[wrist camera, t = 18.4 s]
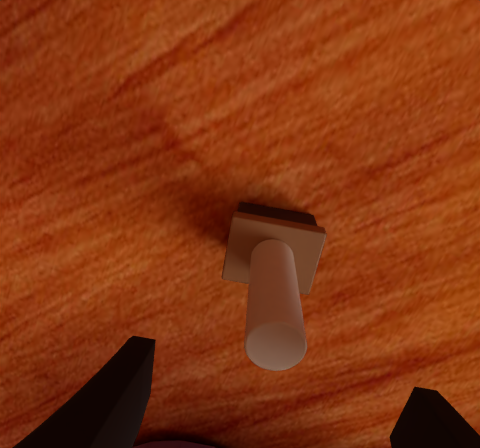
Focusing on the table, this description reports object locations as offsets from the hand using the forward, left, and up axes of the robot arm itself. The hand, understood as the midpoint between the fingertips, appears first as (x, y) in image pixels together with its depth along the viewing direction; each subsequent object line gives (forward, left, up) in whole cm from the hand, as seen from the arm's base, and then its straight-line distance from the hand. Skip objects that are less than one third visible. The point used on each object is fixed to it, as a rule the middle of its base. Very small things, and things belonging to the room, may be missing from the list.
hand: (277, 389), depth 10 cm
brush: (0, 0, -10) cm, 10 cm away
